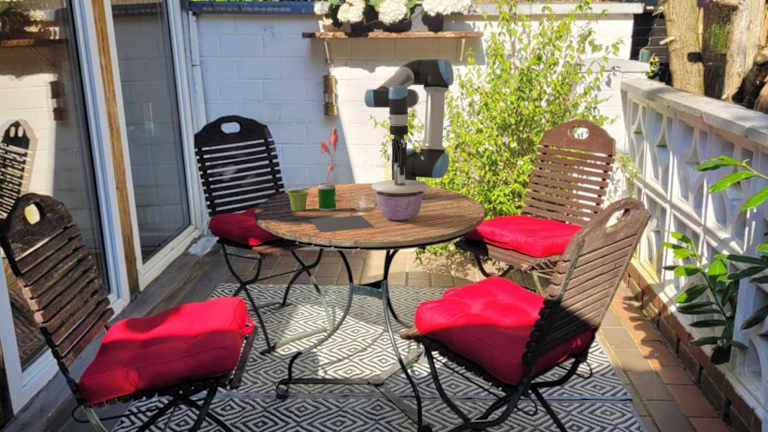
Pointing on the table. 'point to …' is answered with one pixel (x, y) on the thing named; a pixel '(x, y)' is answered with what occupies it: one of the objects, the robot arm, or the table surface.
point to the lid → (399, 185)
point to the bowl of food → (399, 205)
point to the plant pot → (298, 200)
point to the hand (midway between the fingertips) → (399, 181)
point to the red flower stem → (334, 142)
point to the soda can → (327, 197)
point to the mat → (341, 223)
